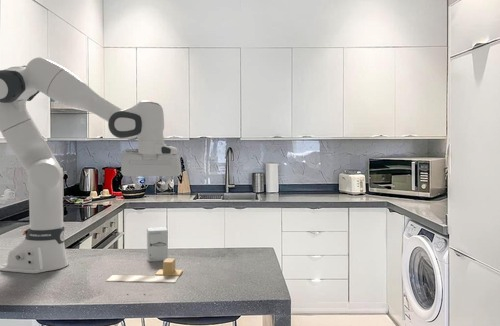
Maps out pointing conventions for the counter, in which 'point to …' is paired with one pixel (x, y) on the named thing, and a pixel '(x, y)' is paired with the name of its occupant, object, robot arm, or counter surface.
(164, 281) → the board
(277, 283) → the counter surface
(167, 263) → the stepped wooden block
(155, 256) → the supplement box
